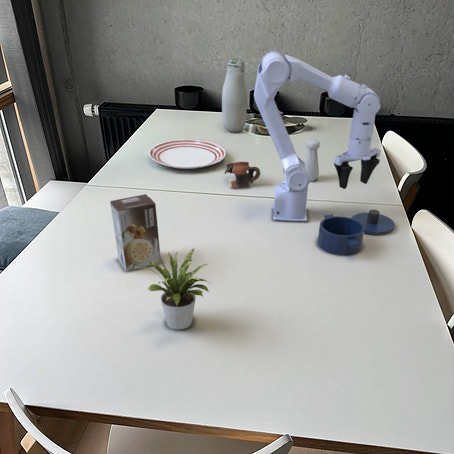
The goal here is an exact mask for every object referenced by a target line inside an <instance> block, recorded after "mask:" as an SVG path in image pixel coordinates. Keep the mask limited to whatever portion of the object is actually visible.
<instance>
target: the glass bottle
mask: <svg viewBox="0 0 454 454" xmlns="http://www.w3.org/2000/svg"><path fill="white" fill-rule="evenodd" d="M225 70H226V75H225V79H224V83H223V85H222V91H221V121H222V126H223V128H224V129H225V130H226V131H228V132H231V133H237V132H241V131H243V130H244V128H245V126H246V122H247V107H248V87H247V80H246V77H245V76H246V75H245V74H246V73H245V70H246V63H245V61H244V60H243V59H241V58H239V57H233V58H229V59H228V60H227V61H226V66H225Z"/></svg>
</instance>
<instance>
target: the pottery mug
mask: <svg viewBox="0 0 454 454" xmlns="http://www.w3.org/2000/svg"><path fill="white" fill-rule="evenodd" d="M254 173H255V174H254ZM226 174H233V175H234V176H235V179H234V180H231V181H230V184H231V188H232V189H237V188H249V187H250V184H253V183H254V182H255V181H257V180H258V179H259V178H260V176H261V169H260V167H257V166H250V162H249V161H235V162H230V163H227V164H226V169H225V171H224V175H226Z"/></svg>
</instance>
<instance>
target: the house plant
mask: <svg viewBox="0 0 454 454" xmlns="http://www.w3.org/2000/svg"><path fill="white" fill-rule="evenodd" d="M195 249H196V247H194V248H192V249H191V250H189V251H188V253H187V254H186V256H185V257H184V260H183V262H182V264H181V265H180V268H179V272H178V251H179V250H177V251H176V253H175V255H174V257H173V256H172V254H171V253H170V252H169V251H167V254H168V257H169V264H170V268H171V272H170V271H169V270H168V268H167V267H166V265H165V264H164V263H163V262H162V261H161V262H160V261H158V260H156V261H158V262H160V263H159V264H161V265H162V267H163V268H162V267H161V266H160V265H159V264H158V263H157V264H156V263H155V262H152V261H151V262H152V263H151V262H150V263H151V264H152V265H151V266H153V267H154V268H155V270H156V271H158V273H160V275H161V276H162V277H163V278H162V277H161V276H160V275H159V274H158V273H156V275H157V276H158V277H159V278H160V279H161V280H162V281H159V282H157V283H152V284H150V285H149V286H148V288H147V289H146V290H147V291H148V293H150V292H157V291H159V292H160V291H162V292H163V293H162V294H161V296H160V302H161V303H160V304H161V306H162V310H163V313H164V317H165V321H166V324H167V326H168V327H169V328H170V329H172V330H175V331H176V330H180V331H181V330H186V329H187V328H189V327H190V326H191V325H192V323H193V317H194V313H195V312H194V310H195V305H196V297H197V296H200V297H201V298H203V299H204V298H205V297H204V295H203V293H204V291H206V292H208V293H209V294H210V291H209V288H208V287H207V286H206V285H205V284H201V283H200V284H198V283H197V282H206V283H208V284H211V285H212V283H211V282H209V281H207V279H205V278H199V277H196V276H194V275H195V274H196V273H197V272H199V271H200V269H202V268H203V267H206V266H208V265H209V263H203V264H200V265H198V266H197V267H196V268H194V269H193V270H192V271H189V272H188V269H189V267H190V265H191V263H192V262H193V260H194V258H192V257H193V255H194V252H195ZM153 260H154V259H153ZM137 269H145V270H149V271H151V272H153V273H155V270H153V269H151V268H149V267H146V266H145V267H137ZM170 273H171V274H170ZM160 283H161V284H163V285H164V287H162V285H159V284H160ZM195 283H197V284H195ZM194 288H195V289H194Z"/></svg>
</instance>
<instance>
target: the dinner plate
mask: <svg viewBox="0 0 454 454" xmlns="http://www.w3.org/2000/svg"><path fill="white" fill-rule="evenodd" d="M226 155H227V152H226V150H225V149H224V148H223V147H222V146H221V145H219V144H217V143H214V142H210V141H206V140H201V139H200V140H199V139H188V138H187V139H185V138H184V139H183V138H182V139H172V140H167V141H163V142H159V143H157V144H155V145H153V146H152V147H150V148H149V150H148V156H149V158H150V159H151V160H152V161H154V162H156V163H158V164H160V165H162V166H165V167H168V168H173V169H178V170H197V169H202V168H205V167H209V166H212V165H216V164H217V163H220V162H222V161H223V160H224V159H225V158H226Z"/></svg>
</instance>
